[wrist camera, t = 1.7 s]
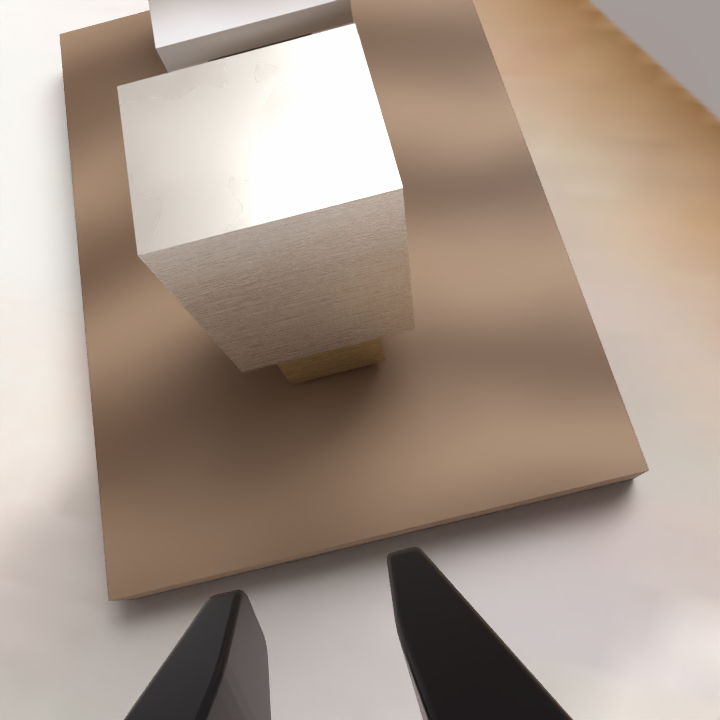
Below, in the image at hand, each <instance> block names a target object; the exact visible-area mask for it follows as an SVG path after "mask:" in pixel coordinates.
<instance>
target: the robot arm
mask: <svg viewBox="0 0 720 720" xmlns="http://www.w3.org/2000/svg"><path fill="white" fill-rule="evenodd" d="M387 565H388V572H389V579H390V587H391V594H392V601H393V609H394V616H395V622H396V628H397V633H398V636H399V640H400V643H401V646H402V650H403V653H404V657H405V660H406V663H407V667H408V670H409V674H410V677H411V680H412V684H413V687H414V690H415V694H416V697H417V701H418V704H419V707H420V711H421V714H422V717H423V720H573V719H572V718H571V717H570V716H569V715H568V714H567V712H566V711H565V710H564V709H563V708H562V707H561V706H560V705H559V703H558V702H557V701H556V700H555V699H554V698H553V697H552V696H551V694H550V693H549V692H548V691H547V690H546V689H545V688H544V687H543V685H542V684H541V683H540V682H539V681H538V680H537V679H536V678H535V676H534V675H533V674H532V673H531V672H530V671H529V670H528V669H527V667H526V666H525V665H524V664H523V663H522V662H521V661H520V660H519V659H518V657H517V656H516V655H515V654H514V653H513V652H512V651H511V650H510V648H509V647H508V646H507V645H506V644H505V643H504V642H503V641H502V639H501V638H500V637H499V636H498V635H497V634H496V633H495V632H494V630H493V629H492V628H491V627H490V626H489V625H488V624H487V623H486V621H485V620H484V619H483V618H482V617H481V616H480V615H479V614H478V612H477V611H476V610H475V609H474V608H473V607H472V606H471V605H470V604H469V602H468V601H467V600H466V599H465V598H464V597H463V596H462V595H461V593H460V592H459V591H458V590H457V589H456V588H455V587H454V586H453V584H452V583H451V582H450V581H449V580H448V579H447V578H446V577H445V575H444V574H443V573H442V572H441V571H440V570H439V569H438V568H437V566H436V565H435V564H434V563H433V562H432V561H431V560H430V559H429V557H428V556H427V555H426V554H425V553H424V552H423V551H422V550H421V549H420V548H417V547H413V548H408V549H404V550H400V551H396V552H392V553H390V554H389V555H388V557H387ZM124 720H271V710H270V690H269V671H268V654H267V646H266V641H265V638H264V635H263V632H262V630H261V627H260V625H259V622H258V620H257V618H256V615H255V613H254V610H253V608H252V606H251V603H250V601H249V599H248V597H247V595H246V594H245V593H244V591H241V590H235V591H231V592H227V593H222V594H218V595H215V596H212V597H211V598H210V599H209V600H208V601H207V602H206V603H205V605H204V606H203V608H202V609H201V610H200V612H199V613H198V615H197V616H196V618H195V619H194V620H193V622H192V623H191V625H190V626H189V628H188V629H187V630H186V632H185V633H184V635H183V636H182V638H181V639H180V640H179V642H178V643H177V645H176V646H175V648H174V649H173V650H172V652H171V653H170V655H169V656H168V657H167V659H166V660H165V662H164V663H163V665H162V666H161V667H160V669H159V670H158V672H157V673H156V675H155V676H154V677H153V679H152V680H151V682H150V683H149V685H148V686H147V687H146V689H145V690H144V692H143V693H142V695H141V696H140V697H139V699H138V700H137V702H136V703H135V705H134V706H133V707H132V709H131V710H130V712H129V713H128V715H127V716H126V717H125V719H124Z"/></svg>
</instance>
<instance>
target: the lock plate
mask: <svg viewBox="0 0 720 720" xmlns="http://www.w3.org/2000/svg"><path fill="white" fill-rule="evenodd" d="M148 1H149V8H150V10H149V11H145V12H141V13H138V14H134V15H130V16H127V17H123V18H119V19H115V20H112V21H108V22H104V23H100V24H97V25H93V26H89V27H85V28H82V29H78V30H74V31H70V32H67V33H63V34H60V45H61V56H62V68H63V79H64V91H65V102H66V114H67V125H68V137H69V148H70V160H71V171H72V183H73V194H74V206H75V217H76V229H77V240H78V251H79V263H80V274H81V286H82V297H83V309H84V320H85V332H86V343H87V355H88V366H89V378H90V389H91V401H92V412H93V424H94V435H95V447H96V458H97V470H98V481H99V493H100V504H101V516H102V527H103V539H104V550H105V562H106V573H107V585H108V596H109V601H110V600H132V599H137V598H141V597H145V596H149V595H153V594H157V593H161V592H166V591H170V590H174V589H178V588H182V587H186V586H190V585H195V584H199V583H203V582H207V581H211V580H215V579H219V578H224V577H228V576H232V575H236V574H240V573H244V572H248V571H253V570H257V569H261V568H265V567H269V566H273V565H277V564H282V563H286V562H290V561H294V560H298V559H302V558H306V557H311V556H315V555H319V554H323V553H327V552H331V551H335V550H340V549H344V548H348V547H352V546H356V545H360V544H364V543H369V542H373V541H377V540H381V539H385V538H389V537H393V536H398V535H402V534H406V533H410V532H414V531H418V530H422V529H427V528H431V527H435V526H439V525H443V524H447V523H451V522H456V521H460V520H464V519H468V518H472V517H476V516H480V515H485V514H489V513H493V512H497V511H501V510H505V509H510V508H514V507H518V506H522V505H526V504H530V503H534V502H539V501H543V500H547V499H551V498H555V497H559V496H563V495H568V494H572V493H576V492H580V491H584V490H588V489H592V488H597V487H601V486H605V485H609V484H613V483H617V482H621V481H626V480H630V479H634V478H636V477H638V476H639V475H641V474H643V473H645V472H646V471H648V470H649V469H648V466H647V464H646V461H645V458H644V456H643V453H642V450H641V448H640V445H639V442H638V440H637V437H636V434H635V432H634V429H633V426H632V424H631V421H630V418H629V416H628V413H627V411H626V408H625V405H624V403H623V400H622V397H621V395H620V392H619V389H618V387H617V384H616V381H615V379H614V376H613V373H612V371H611V368H610V365H609V363H608V360H607V357H606V355H605V352H604V349H603V347H602V344H601V341H600V339H599V336H598V333H597V331H596V328H595V325H594V323H593V320H592V318H591V315H590V312H589V310H588V307H587V304H586V302H585V299H584V296H583V294H582V291H581V288H580V286H579V283H578V280H577V278H576V275H575V272H574V270H573V267H572V264H571V262H570V259H569V256H568V254H567V251H566V248H565V246H564V243H563V240H562V238H561V235H560V232H559V230H558V227H557V224H556V222H555V219H554V217H553V214H552V211H551V209H550V206H549V203H548V201H547V198H546V195H545V193H544V190H543V187H542V185H541V182H540V179H539V177H538V174H537V171H536V169H535V166H534V163H533V161H532V158H531V155H530V153H529V150H528V147H527V145H526V142H525V139H524V137H523V134H522V131H521V129H520V126H519V123H518V121H517V118H516V116H515V113H514V110H513V108H512V105H511V102H510V100H509V97H508V94H507V92H506V89H505V86H504V84H503V81H502V78H501V76H500V73H499V70H498V68H497V65H496V62H495V60H494V57H493V54H492V52H491V49H490V46H489V44H488V41H487V38H486V36H485V33H484V30H483V28H482V25H481V22H480V20H479V17H478V15H477V12H476V9H475V7H474V4H473V1H472V0H148ZM351 24H355V25H356V28H357V32H358V35H359V38H360V42H361V45H362V49H363V52H364V56H365V59H366V63H367V66H368V69H369V73H370V76H371V80H372V83H373V87H374V90H375V94H376V97H377V100H378V104H379V107H380V111H381V114H382V118H383V121H384V125H385V128H386V131H387V135H388V138H389V142H390V145H391V149H392V152H393V156H394V159H395V163H396V166H397V169H398V173H399V176H400V180H401V183H402V187H403V196H404V208H405V220H406V231H407V243H408V255H409V266H410V278H411V290H412V301H413V313H414V325H415V329H414V330H410V331H406V332H402V333H398V334H394V335H390V336H386V337H382V338H380V339H381V344H382V348H383V353H384V357H385V361H383V362H379V363H375V364H371V365H367V366H363V367H359V368H355V369H351V370H347V371H343V372H339V373H335V374H331V375H327V376H323V377H319V378H315V379H311V380H307V381H303V382H299V383H295V384H291V383H290V382H289V381H288V379H287V378H286V376H285V375H284V374H283V372H282V371H281V369H280V368H279V366H278V365H277V364H274V365H270V366H266V367H262V368H258V369H254V370H250V371H246V372H242V371H241V370H240V369H239V368H238V367H237V366H236V365H235V364H234V363H233V361H232V360H231V359H230V358H229V357H228V356H227V355H226V354H225V353H224V351H223V350H222V349H221V348H220V347H219V346H218V345H217V344H216V342H215V341H214V340H213V339H212V338H211V337H210V336H209V335H208V334H207V332H206V331H205V330H204V329H203V328H202V327H201V326H200V325H199V323H198V322H197V321H196V320H195V319H194V318H193V317H192V316H191V315H190V313H189V312H188V311H187V310H186V309H185V308H184V307H183V306H182V304H181V303H180V302H179V301H178V300H177V299H176V298H175V297H174V296H173V294H172V293H171V292H170V291H169V290H168V289H167V288H166V287H165V285H164V284H163V283H162V282H161V281H160V280H159V279H158V278H157V277H156V275H155V274H154V273H153V272H152V271H151V270H150V269H149V268H148V266H147V265H146V264H145V263H144V262H143V261H142V260H141V259H140V258H139V256H138V254H137V246H136V237H135V229H134V221H133V213H132V205H131V196H130V188H129V180H128V172H127V164H126V155H125V147H124V139H123V131H122V123H121V114H120V106H119V98H118V90H117V86H120V85H124V84H128V83H132V82H135V81H139V80H143V79H147V78H151V77H154V76H158V75H162V74H166V73H169V72H173V71H177V70H181V69H185V68H188V67H192V66H196V65H200V64H203V63H207V62H211V61H215V60H219V59H222V58H226V57H230V56H234V55H238V54H241V53H245V52H249V51H253V50H256V49H260V48H264V47H268V46H272V45H275V44H279V43H283V42H287V41H290V40H294V39H298V38H302V37H306V36H309V35H313V34H317V33H321V32H324V31H328V30H332V29H336V28H340V27H343V26H347V25H351Z"/></svg>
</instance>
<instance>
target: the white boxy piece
mask: <svg viewBox="0 0 720 720" xmlns="http://www.w3.org/2000/svg"><path fill="white" fill-rule="evenodd" d="M117 90H118V98H119V106H120V114H121V123H122V131H123V139H124V147H125V155H126V164H127V172H128V180H129V188H130V196H131V205H132V213H133V221H134V229H135V237H136V246H137V254H138V256H139V258H140V259H141V260H142V261H143V262H144V263H145V264H146V265H147V266H148V268H149V269H150V270H151V271H152V272H153V273H154V274H155V275H156V277H157V278H158V279H159V280H160V281H161V282H162V283H163V284H164V285H165V287H166V288H167V289H168V290H169V291H170V292H171V293H172V294H173V296H174V297H175V298H176V299H177V300H178V301H179V302H180V303H181V304H182V306H183V307H184V308H185V309H186V310H187V311H188V312H189V313H190V315H191V316H192V317H193V318H194V319H195V320H196V321H197V322H198V323H199V325H200V326H201V327H202V328H203V329H204V330H205V331H206V332H207V334H208V335H209V336H210V337H211V338H212V339H213V340H214V341H215V342H216V344H217V345H218V346H219V347H220V348H221V349H222V350H223V351H224V353H225V354H226V355H227V356H228V357H229V358H230V359H231V360H232V361H233V363H234V364H235V365H236V366H237V367H238V368H239V369H240V370H241V371H242V372H246V371H250V370H254V369H258V368H262V367H266V366H270V365H274V364H277V365H278V366H279V368H280V369H281V371H282V372H283V374H284V375H285V376H286V378H287V379H288V381H289V382H290V383H291V384H295V383H299V382H303V381H307V380H311V379H315V378H319V377H323V376H327V375H331V374H335V373H339V372H343V371H347V370H351V369H355V368H359V367H363V366H367V365H371V364H375V363H379V362H383V361H385V357H384V353H383V348H382V344H381V339H380V338H382V337H386V336H390V335H394V334H398V333H402V332H406V331H410V330H414V329H415V325H414V313H413V301H412V290H411V278H410V266H409V255H408V243H407V231H406V220H405V208H404V196H403V187H402V183H401V180H400V176H399V173H398V169H397V166H396V163H395V159H394V156H393V152H392V149H391V145H390V142H389V138H388V135H387V131H386V128H385V125H384V121H383V118H382V114H381V111H380V107H379V104H378V100H377V97H376V94H375V90H374V87H373V83H372V80H371V76H370V73H369V69H368V66H367V63H366V59H365V56H364V52H363V49H362V45H361V42H360V38H359V35H358V32H357V28H356V25H355V24H351V25H347V26H343V27H340V28H336V29H332V30H328V31H324V32H321V33H317V34H313V35H309V36H306V37H302V38H298V39H294V40H290V41H287V42H283V43H279V44H275V45H272V46H268V47H264V48H260V49H256V50H253V51H249V52H245V53H241V54H238V55H234V56H230V57H226V58H222V59H219V60H215V61H211V62H207V63H203V64H200V65H196V66H192V67H188V68H185V69H181V70H177V71H173V72H169V73H166V74H162V75H158V76H154V77H151V78H147V79H143V80H139V81H135V82H132V83H128V84H124V85H120V86H117Z"/></svg>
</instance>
